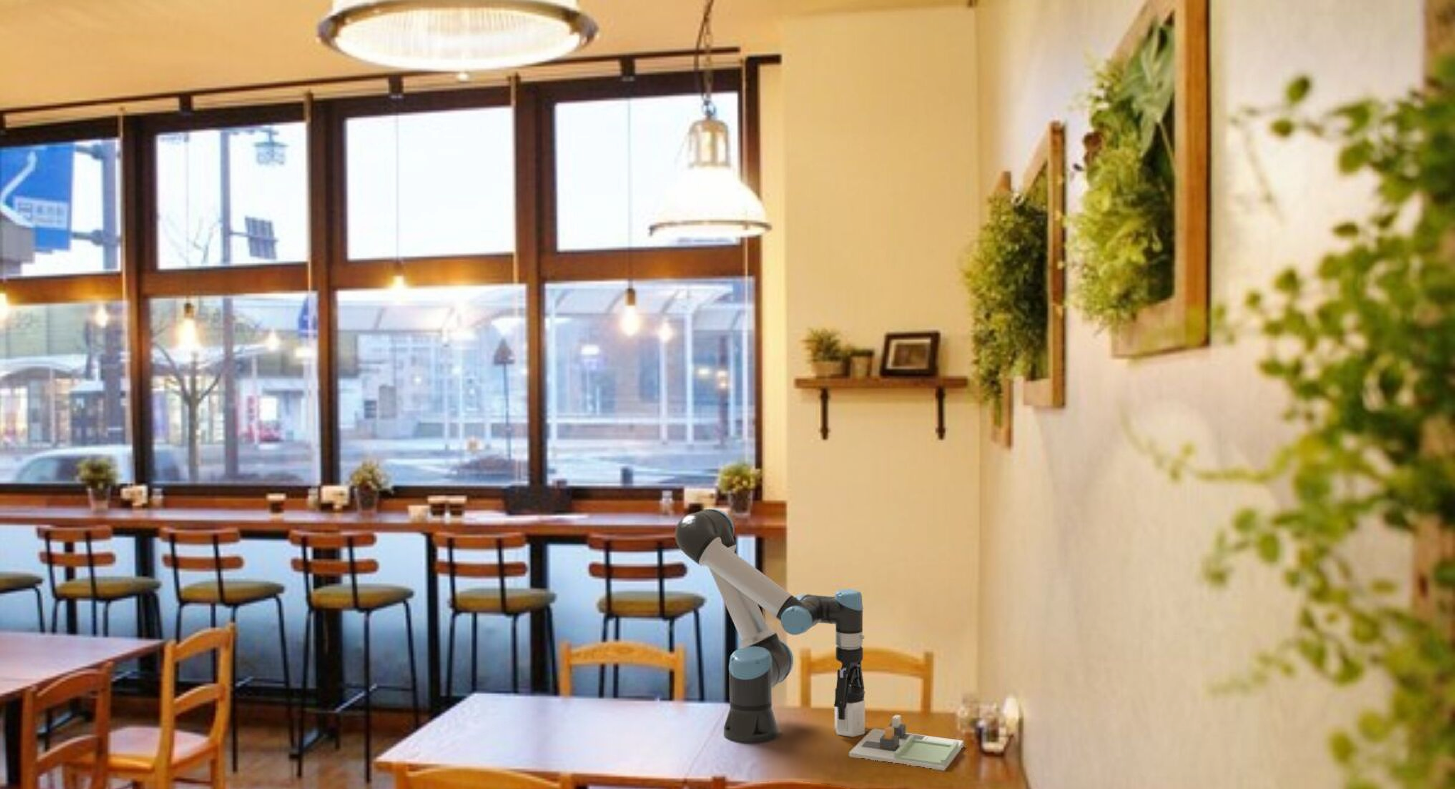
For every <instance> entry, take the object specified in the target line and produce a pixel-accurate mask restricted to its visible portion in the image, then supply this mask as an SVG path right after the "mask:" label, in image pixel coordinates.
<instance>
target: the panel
mask: <svg viewBox="0 0 1455 789" xmlns="http://www.w3.org/2000/svg"><path fill="white" fill-rule="evenodd" d="M884 734H885V729H880V728H872V729H871V730H870V731H869V732H868V733H867V734H866V735H865V736H864V737H863V738H862V739H861V740H860V741H859V742H858V743H857V744H855V746H854V747H853V748H852V749H851V750H850V751H849V752H848V757H849V756H850V757H849V758H856V759H861V758H865V759H864V760H868V759H870V760H869V761H875V760H876V762H882V761H888V762H893V763H892V764H895V763H904V764H907V765H906V766H909V765H911V767H916V766H921V767H920V768H922V767H925V768H924V769H929V768H932V769H931V770H937V771H943V772H944V771H946V769H947V768H948V766H950V764H951V763H952V762H953V761H954V759H955V758H956V757H957V755H958V754H959V752H960V751H961V750H962V749H963V747H964V740H960V739H952V738H944V737H938V736H930V735H924V734H923V735H922V734H916V733H910V732H906V734H905V735H904V736H903V737H902V738H899V746H898V747H897V748H896V749H895V750H890V749H883V748H880V738H881V737H882V736H883V735H884ZM961 748H962V749H961ZM877 760H878V761H877ZM888 762H887V763H888Z"/></svg>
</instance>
